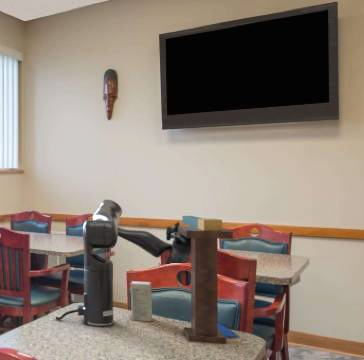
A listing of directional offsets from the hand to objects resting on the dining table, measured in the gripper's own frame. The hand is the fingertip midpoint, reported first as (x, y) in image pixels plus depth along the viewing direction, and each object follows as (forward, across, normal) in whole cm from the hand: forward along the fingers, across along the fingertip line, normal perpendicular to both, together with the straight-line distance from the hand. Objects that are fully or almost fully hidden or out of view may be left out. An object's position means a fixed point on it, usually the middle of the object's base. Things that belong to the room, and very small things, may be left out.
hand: (192, 224), depth 160 cm
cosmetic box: (-15, +16, -28) cm, 36 cm away
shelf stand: (-1, 0, -36) cm, 36 cm away
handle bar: (+10, 0, -5) cm, 11 cm away
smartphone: (-9, -5, -32) cm, 33 cm away
